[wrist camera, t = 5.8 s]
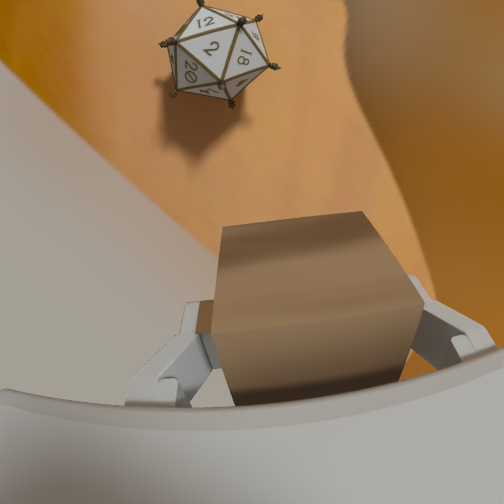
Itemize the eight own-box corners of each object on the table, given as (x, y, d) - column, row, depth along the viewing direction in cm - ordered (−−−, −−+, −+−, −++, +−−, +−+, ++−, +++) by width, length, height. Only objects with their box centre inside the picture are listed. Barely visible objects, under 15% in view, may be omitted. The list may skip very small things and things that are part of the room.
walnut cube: (222, 227, 11) (210, 333, 7) (361, 211, 11) (425, 302, 6) (242, 327, 14) (243, 429, 9) (353, 313, 13) (387, 407, 9)
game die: (236, 73, 27) (252, 144, 23) (151, 57, 23) (142, 129, 19) (278, 1, 20) (315, 57, 16) (182, -27, 16) (179, 16, 12)
